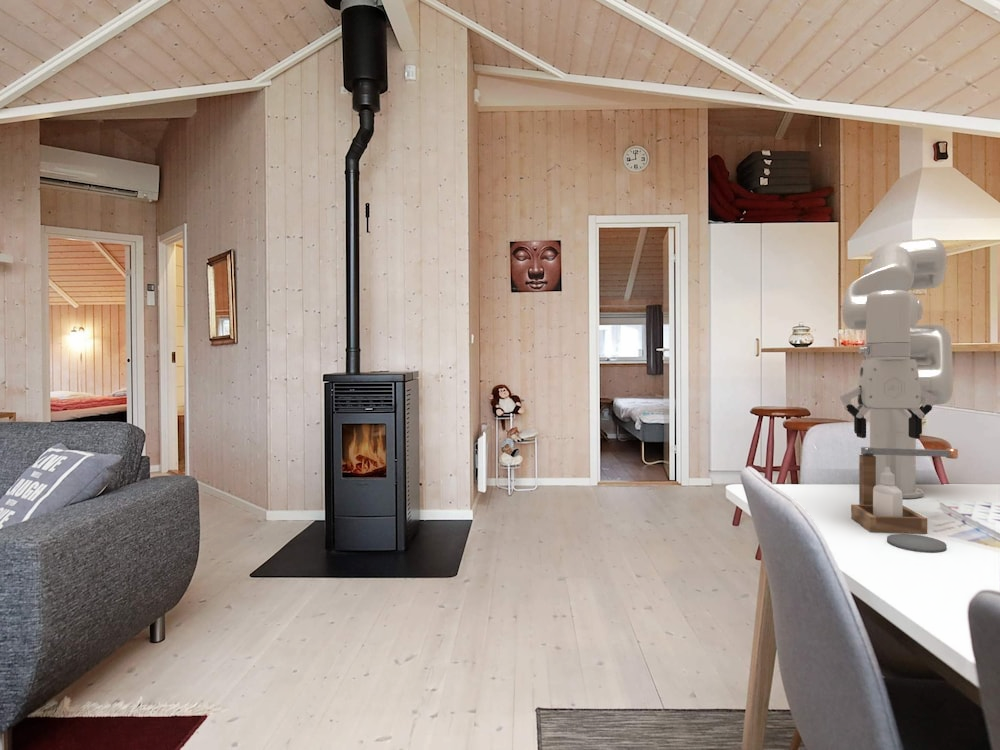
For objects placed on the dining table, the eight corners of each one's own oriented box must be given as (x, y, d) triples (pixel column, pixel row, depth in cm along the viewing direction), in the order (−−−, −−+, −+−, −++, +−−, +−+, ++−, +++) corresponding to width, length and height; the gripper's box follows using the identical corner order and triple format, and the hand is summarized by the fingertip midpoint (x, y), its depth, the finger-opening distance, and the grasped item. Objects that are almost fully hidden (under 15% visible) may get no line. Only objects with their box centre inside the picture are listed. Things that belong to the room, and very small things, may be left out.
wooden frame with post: (840, 510, 135) (840, 454, 135) (890, 512, 133) (890, 454, 133) (870, 532, 119) (870, 468, 119) (927, 534, 117) (927, 469, 117)
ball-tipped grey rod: (862, 455, 132) (862, 447, 132) (859, 454, 134) (859, 446, 134) (959, 458, 126) (959, 450, 126) (955, 456, 128) (955, 448, 128)
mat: (878, 536, 117) (878, 533, 117) (931, 537, 115) (931, 534, 115) (900, 551, 108) (900, 548, 108) (957, 553, 106) (957, 550, 106)
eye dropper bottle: (878, 529, 121) (879, 469, 121) (871, 521, 126) (871, 464, 126) (904, 530, 120) (904, 470, 119) (895, 522, 125) (895, 465, 125)
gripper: (847, 352, 120) (847, 439, 120) (945, 351, 116) (945, 440, 117) (834, 353, 127) (834, 435, 127) (926, 352, 124) (926, 436, 124)
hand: (887, 437), depth 122 cm, fingers open, 9 cm apart
